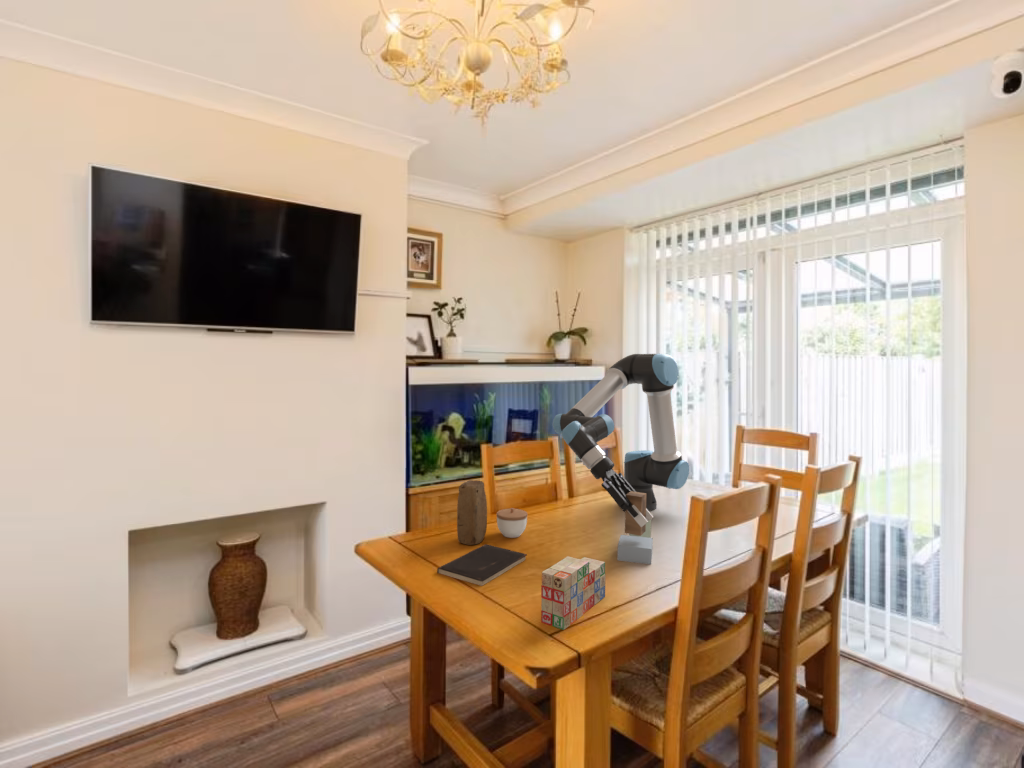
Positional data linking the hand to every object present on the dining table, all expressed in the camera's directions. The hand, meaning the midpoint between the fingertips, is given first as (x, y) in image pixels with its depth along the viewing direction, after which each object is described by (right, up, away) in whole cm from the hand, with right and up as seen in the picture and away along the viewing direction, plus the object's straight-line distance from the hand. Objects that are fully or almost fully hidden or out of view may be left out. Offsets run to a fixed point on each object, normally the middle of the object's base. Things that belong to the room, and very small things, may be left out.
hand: (647, 522), depth 164 cm
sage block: (+2, -11, +17) cm, 20 cm away
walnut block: (-3, -4, +2) cm, 5 cm away
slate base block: (-3, -12, +3) cm, 12 cm away
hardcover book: (-50, -12, -6) cm, 52 cm away
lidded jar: (-42, -10, +21) cm, 48 cm away
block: (-55, -10, +15) cm, 58 cm away
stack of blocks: (-26, -13, -32) cm, 44 cm away
